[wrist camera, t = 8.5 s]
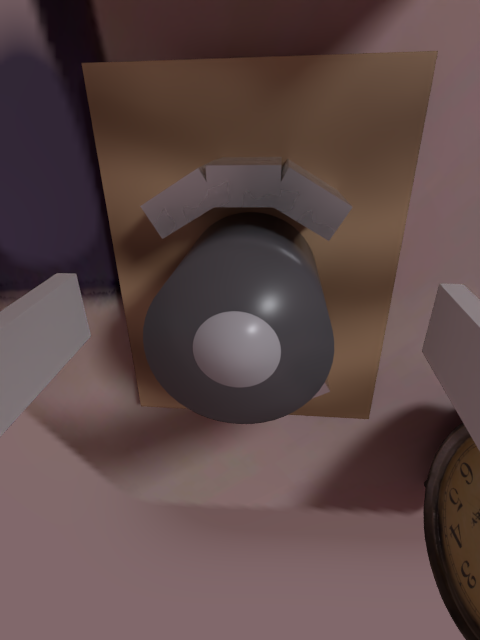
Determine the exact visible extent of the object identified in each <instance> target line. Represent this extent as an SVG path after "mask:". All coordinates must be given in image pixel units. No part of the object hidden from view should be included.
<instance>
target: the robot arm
mask: <svg viewBox="0 0 480 640" xmlns="http://www.w3.org/2000/svg"><path fill="white" fill-rule="evenodd" d="M90 337H91V333H90V329H89V325H88V321H87V317H86V313H85V309H84V304H83V300H82V296H81V292H80V288H79V284H78V280H77V275H76V274H69V273H57V274H55V275H54V276H52V277H51V278H49V279H48V280H46V281H45V282H43V283H42V284H40V285H39V286H37V287H36V288H34V289H33V290H31V291H30V292H28V293H27V294H25V295H24V296H22V297H21V298H19V299H18V300H17V301H15V302H14V303H12V304H11V305H9V306H8V307H6V308H5V309H3V310H2V311H0V437H1V436H2V435H3V433H4V432H5V431H6V430H7V429H8V428H9V427H10V426H11V425H12V423H13V422H14V421H15V420H16V419H17V418H18V417H19V416H20V414H21V413H22V412H23V411H24V410H25V409H26V408H27V407H28V406H29V405H30V403H31V402H32V401H33V400H34V399H35V398H36V397H37V396H38V395H39V393H40V392H41V391H42V390H43V389H44V388H45V387H46V386H47V385H48V383H49V382H50V381H51V380H52V379H53V378H54V377H55V376H56V375H57V373H58V372H59V371H60V370H61V369H62V368H63V367H64V366H65V365H66V363H67V362H68V361H69V360H70V359H71V358H72V357H73V356H74V355H75V353H76V352H77V351H78V350H79V349H80V348H81V347H82V346H83V345H84V343H85V342H86V341H87V340H88V339H89V338H90ZM422 352H423V354H424V356H425V357H426V359H427V361H428V363H429V364H430V366H431V368H432V370H433V371H434V373H435V375H436V376H437V378H438V380H439V382H440V383H441V385H442V387H443V389H444V390H445V392H446V394H447V396H448V397H449V399H450V401H451V403H452V404H453V406H454V408H455V409H456V411H457V413H458V415H459V416H460V418H461V420H462V422H463V423H464V425H465V427H466V429H467V430H468V432H469V434H470V435H471V437H472V439H473V441H474V442H475V444H476V446H477V448H478V449H479V451H480V300H479V299H478V298H477V297H476V296H475V295H474V294H473V293H472V292H471V291H470V290H469V289H468V288H467V287H465V286H464V285H463V284H439V287H438V291H437V295H436V299H435V303H434V307H433V310H432V314H431V318H430V322H429V326H428V330H427V334H426V337H425V341H424V345H423V349H422Z"/></svg>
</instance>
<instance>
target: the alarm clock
mask: <svg viewBox="0 0 480 640" xmlns="http://www.w3.org/2000/svg"><path fill="white" fill-rule="evenodd" d="M424 485H425V487H426V491H425V500H424V532H425V541H426V546H427V552H428V557H429V561H430V565H431V568H432V572H433V575H434V578H435V581H436V584H437V587H438V589H439V592H440V595H441V597H442V599H443V601H444V604H445V606H446V608H447V609H448V612H449V613H450V615H451V617H452V619H453V621H454V622H455V624H456V626H457V627H458V629H459V630H460V632H461V633H462V634H463V636H464V638H465V639H466V640H480V451H479V449H478V448H477V446H476V444H475V442H474V441H473V439H472V437H471V435H470V434H469V432H468V430H467V429H466V427H465V425H464V423H462V424H461V425H459V426H458V427H456V428H455V429H454V430H453V431H452V432H451V433H450V434H449V436H448V437H447V438H446V439H445V440H444V442H443V443H442V445H441V446H440V448H439V450H438V452H437V453H436V455H435V458H434V460H433V462H432V465H431V468H430V471H429V475H428V479H427V480H426V481H425V482H424Z"/></svg>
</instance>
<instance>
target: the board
mask: <svg viewBox="0 0 480 640" xmlns="http://www.w3.org/2000/svg"><path fill="white" fill-rule="evenodd" d="M437 53H438V51H422V52H392V53H363V54H334V55H304V56H275V57H245V58H216V59H186V60H157V61H127V62H98V63H82V69H83V75H84V80H85V86H86V92H87V98H88V103H89V109H90V115H91V121H92V126H93V132H94V138H95V144H96V149H97V155H98V161H99V167H100V172H101V178H102V184H103V190H104V196H105V201H106V207H107V213H108V219H109V224H110V230H111V236H112V242H113V247H114V253H115V259H116V265H117V270H118V276H119V282H120V288H121V293H122V299H123V305H124V311H125V316H126V322H127V328H128V334H129V339H130V345H131V351H132V357H133V363H134V368H135V374H136V380H137V386H138V391H139V397H140V403H141V406H147V407H164V408H182V409H188V408H186V407H185V406H183V405H182V404H180V403H179V402H178V401H176V400H175V399H174V398H173V397H172V396H170V395H169V394H168V393H167V391H166V390H165V389H164V388H163V387H162V386H161V385H160V383H159V382H158V381H157V379H156V378H155V376H154V374H153V372H152V371H151V369H150V366H149V364H148V362H147V359H146V355H145V351H144V345H143V327H144V321H145V317H146V314H147V311H148V309H149V306H150V304H151V303H152V301H153V299H154V297H155V296H156V295H157V293H158V292H159V291H160V289H161V288H162V287H163V285H164V284H165V283H166V281H167V280H168V279H169V277H170V276H171V275H172V273H173V272H174V271H175V269H176V268H177V267H178V265H179V264H180V263H181V261H182V260H183V259H184V257H185V256H186V255H187V253H188V252H189V251H190V249H191V248H192V247H193V245H194V244H195V243H196V241H197V240H198V239H199V237H200V236H201V235H202V233H203V232H204V231H205V230H206V229H207V228H208V227H210V226H211V225H212V224H214V223H215V222H217V221H219V220H221V219H222V218H225V217H227V216H230V215H233V214H237V213H244V212H259V213H265V214H269V215H272V216H275V217H278V218H280V219H282V220H284V221H286V222H287V223H289V224H290V225H292V226H293V227H294V228H295V229H296V230H298V231H299V232H300V234H301V235H302V236H303V237H304V238H305V240H306V241H307V243H308V244H309V246H310V248H311V250H312V252H313V255H314V259H315V262H316V266H317V270H318V274H319V278H320V282H321V286H322V290H323V294H324V298H325V302H326V306H327V310H328V314H329V318H330V322H331V326H332V330H333V336H334V357H333V363H332V366H331V369H330V372H329V375H328V382H329V387H330V392H328V393H326V394H323V395H320V396H318V397H315V398H313V399H311V400H310V401H308V402H307V403H306V404H305V405H304V406H302V407H301V408H299V409H297V410H296V411H294V412H292V413H290V414H288V415H305V416H323V417H340V418H358V419H369V414H370V409H371V404H372V398H373V393H374V388H375V382H376V377H377V372H378V367H379V361H380V356H381V351H382V345H383V340H384V335H385V329H386V324H387V319H388V313H389V308H390V303H391V298H392V292H393V287H394V282H395V276H396V271H397V266H398V260H399V255H400V250H401V244H402V239H403V234H404V229H405V223H406V218H407V213H408V207H409V202H410V197H411V191H412V186H413V181H414V176H415V170H416V165H417V160H418V154H419V149H420V144H421V138H422V133H423V128H424V122H425V117H426V112H427V107H428V101H429V96H430V91H431V85H432V80H433V75H434V69H435V64H436V59H437ZM222 157H282V158H281V170H282V168H283V166H284V164H285V163H286V161H287V159H289V160H291V161H292V162H294V163H295V164H297V165H299V166H300V167H302V168H303V169H305V170H306V171H308V172H310V173H311V174H313V175H314V176H316V177H318V178H319V179H321V180H322V181H324V182H325V183H327V184H329V185H330V186H332V187H333V188H335V189H337V190H338V191H339V192H340V193H341V195H342V196H343V197H344V198H345V199H346V200H347V201H348V202H349V203H350V205H351V206H352V209H351V210H350V212H349V213H348V215H347V216H346V217H345V219H344V220H343V222H342V223H341V225H340V226H339V227H338V229H337V230H336V232H335V233H334V235H333V236H332V237H331V239H330V240H329V241H328V240H326V239H325V238H323V237H321V236H320V235H318V234H316V233H315V232H313V231H312V230H310V229H308V228H307V227H305V226H303V225H302V224H300V223H298V222H297V221H295V220H293V219H292V218H290V217H288V216H287V215H285V214H283V213H282V212H280V211H278V210H277V209H275V208H274V207H214V208H212V209H210V210H209V211H207V212H206V213H204V214H202V215H201V216H199V217H197V218H196V219H194V220H192V221H191V222H189V223H188V224H186V225H184V226H183V227H181V228H179V229H178V230H176V231H174V232H173V233H171V234H170V235H168V236H166V237H165V238H163V239H162V238H161V236H160V235H159V233H158V232H157V230H156V229H155V227H154V226H153V224H152V223H151V221H150V220H149V218H148V217H147V215H146V214H145V212H144V211H143V210H142V208H141V207H140V206H141V205H143V204H144V203H146V202H147V201H149V200H150V199H152V198H153V197H155V196H156V195H158V194H159V193H161V192H162V191H164V190H165V189H167V188H168V187H170V186H171V185H173V184H174V183H176V182H177V181H179V180H180V179H182V178H183V177H185V176H187V175H188V174H190V173H191V172H193V171H194V170H196V169H197V168H199V167H201V166H203V165H205V164H207V163H209V162H211V161H214V160H218V159H220V158H222Z"/></svg>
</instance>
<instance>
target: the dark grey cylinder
mask: <svg viewBox="0 0 480 640" xmlns="http://www.w3.org/2000/svg"><path fill="white" fill-rule="evenodd" d="M143 345H144V351H145V355H146V359H147V362H148V364H149V366H150V369H151V371H152V372H153V374H154V376H155V378H156V379H157V381H158V382H159V383H160V385H161V386H162V387H163V388H164V389H165V390H166V391H167V393H168V394H169V395H170V396H172V397H173V398H174V399H175V400H176V401H178V402H179V403H180V404H182V405H183V406H185V407H186V408H188V409H190V410H192V411H194V412H195V413H197V414H200V415H202V416H205V417H207V418H210V419H214V420H217V421H222V422H227V423H236V424H254V423H263V422H267V421H272V420H275V419H278V418H281V417H284V416H286V415H288V414H290V413H292V412H294V411H296V410H297V409H299V408H301V407H302V406H304V405H305V404H306V403H307V402H308V401H310V400H311V399H312V398H313V397H314V396H315V395H316V393H317V392H318V391H319V390H320V388H321V387H322V386H323V384H324V383H325V381H326V379H327V377H328V375H329V372H330V369H331V366H332V363H333V357H334V336H333V330H332V326H331V322H330V318H329V314H328V310H327V306H326V302H325V298H324V294H323V290H322V286H321V282H320V278H319V274H318V270H317V266H316V262H315V259H314V255H313V252H312V250H311V248H310V246H309V244H308V243H307V241H306V240H305V238H304V237H303V236H302V235H301V234H300V232H299V231H298V230H296V229H295V228H294V227H293V226H292V225H290V224H289V223H287V222H286V221H284V220H282V219H280V218H278V217H275V216H272V215H269V214H265V213H259V212H244V213H237V214H233V215H230V216H227V217H225V218H222V219H221V220H219V221H217V222H215V223H214V224H212V225H211V226H210V227H208V228H207V229H206V230H205V231H204V232H203V233H202V235H201V236H200V237H199V239H198V240H197V241H196V243H195V244H194V245H193V247H192V248H191V249H190V251H189V252H188V253H187V255H186V256H185V257H184V259H183V260H182V261H181V263H180V264H179V265H178V267H177V268H176V269H175V271H174V272H173V273H172V275H171V276H170V277H169V279H168V280H167V281H166V283H165V284H164V285H163V287H162V288H161V289H160V291H159V292H158V293H157V295H156V296H155V297H154V299H153V301H152V303H151V304H150V306H149V309H148V311H147V314H146V317H145V321H144V327H143Z"/></svg>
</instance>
